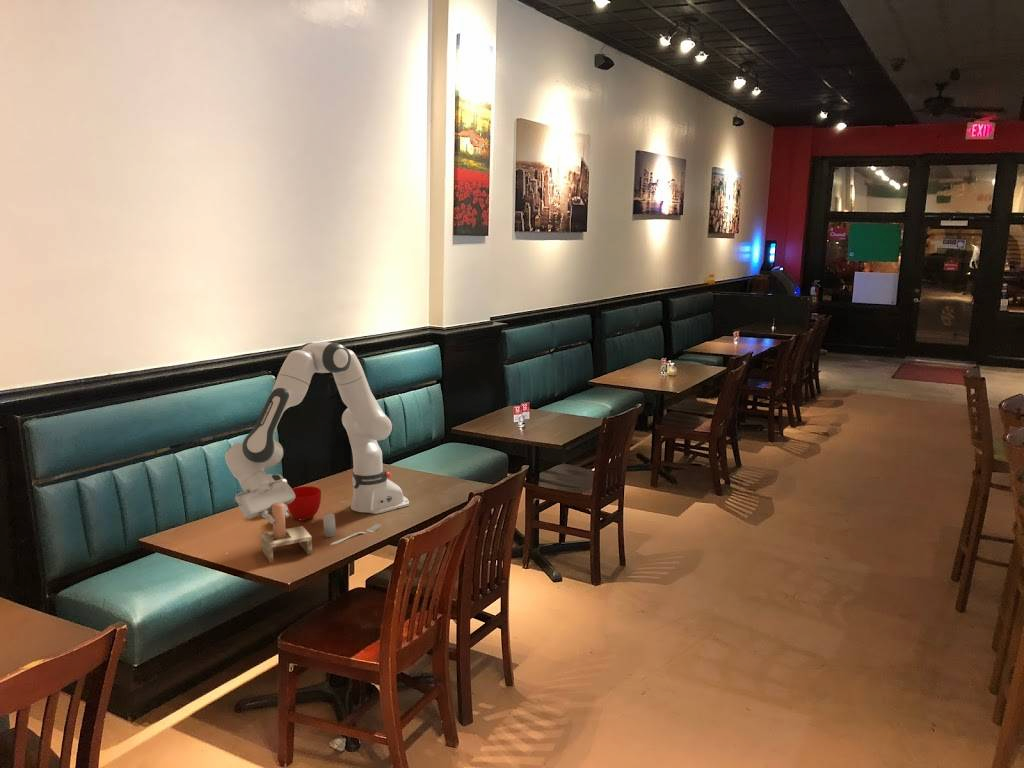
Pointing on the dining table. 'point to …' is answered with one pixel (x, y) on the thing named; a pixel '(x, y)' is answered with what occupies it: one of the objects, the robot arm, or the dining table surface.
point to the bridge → (287, 541)
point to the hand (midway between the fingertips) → (280, 519)
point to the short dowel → (329, 525)
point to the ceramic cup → (305, 502)
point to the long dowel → (279, 521)
